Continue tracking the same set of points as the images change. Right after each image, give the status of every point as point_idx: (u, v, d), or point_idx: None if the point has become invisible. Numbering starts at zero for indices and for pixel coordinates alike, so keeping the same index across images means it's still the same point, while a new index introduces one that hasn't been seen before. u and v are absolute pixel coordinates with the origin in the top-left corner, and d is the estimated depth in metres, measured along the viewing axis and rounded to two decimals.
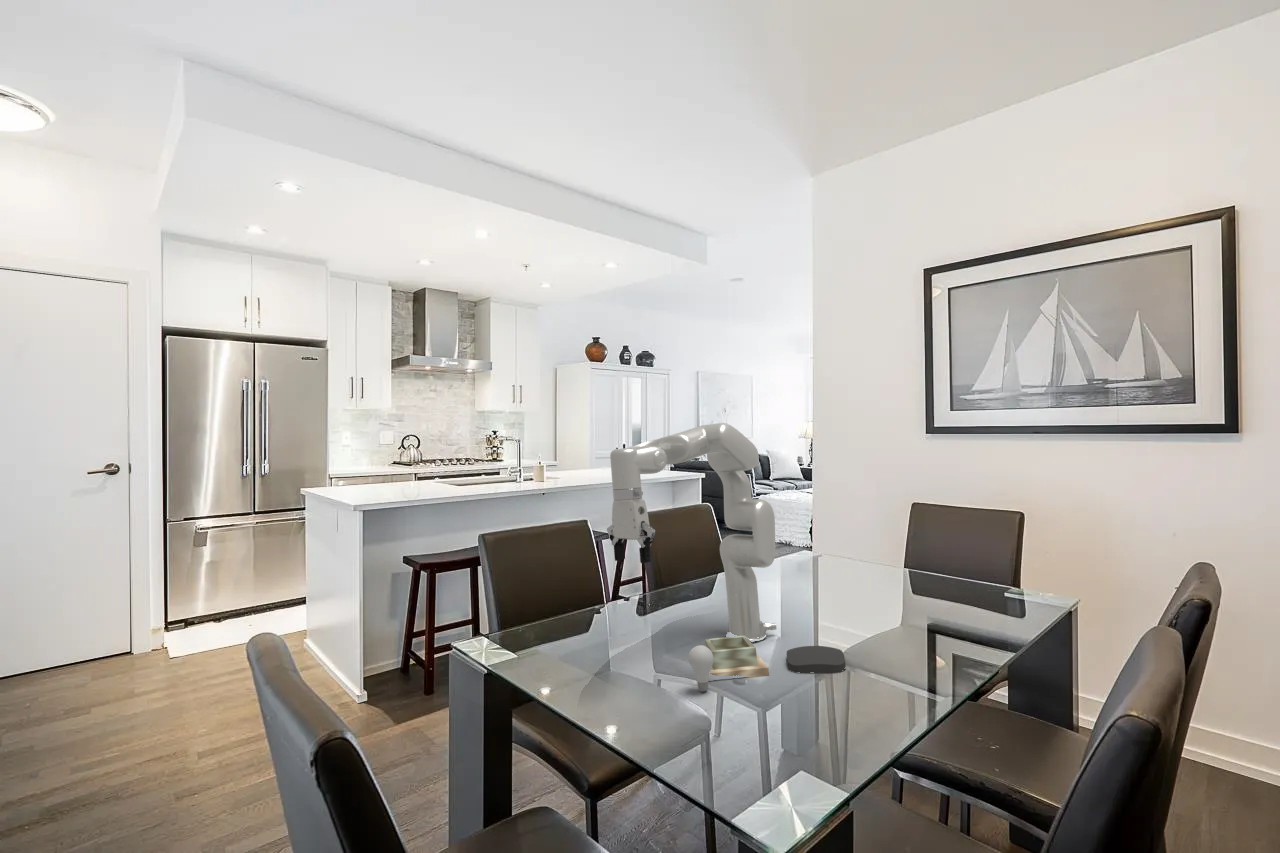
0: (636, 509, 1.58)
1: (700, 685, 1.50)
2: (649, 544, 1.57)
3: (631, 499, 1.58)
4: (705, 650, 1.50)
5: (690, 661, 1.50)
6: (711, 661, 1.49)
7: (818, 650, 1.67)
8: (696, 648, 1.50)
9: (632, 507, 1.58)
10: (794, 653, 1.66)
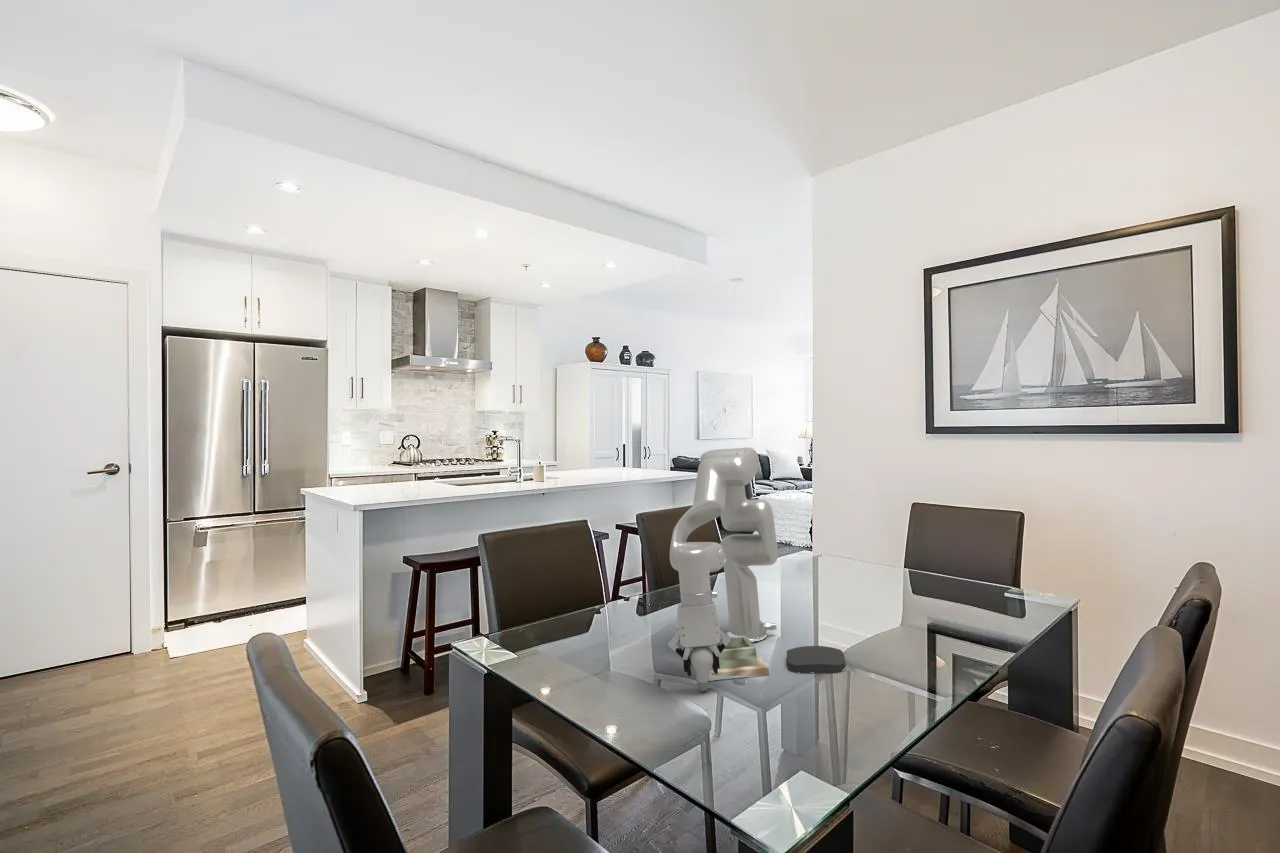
0: (716, 612, 1.51)
1: (700, 685, 1.50)
2: None
3: (710, 602, 1.50)
4: (705, 650, 1.50)
5: (690, 661, 1.50)
6: (711, 661, 1.49)
7: (818, 650, 1.67)
8: (696, 648, 1.50)
9: (713, 611, 1.50)
10: (794, 653, 1.66)
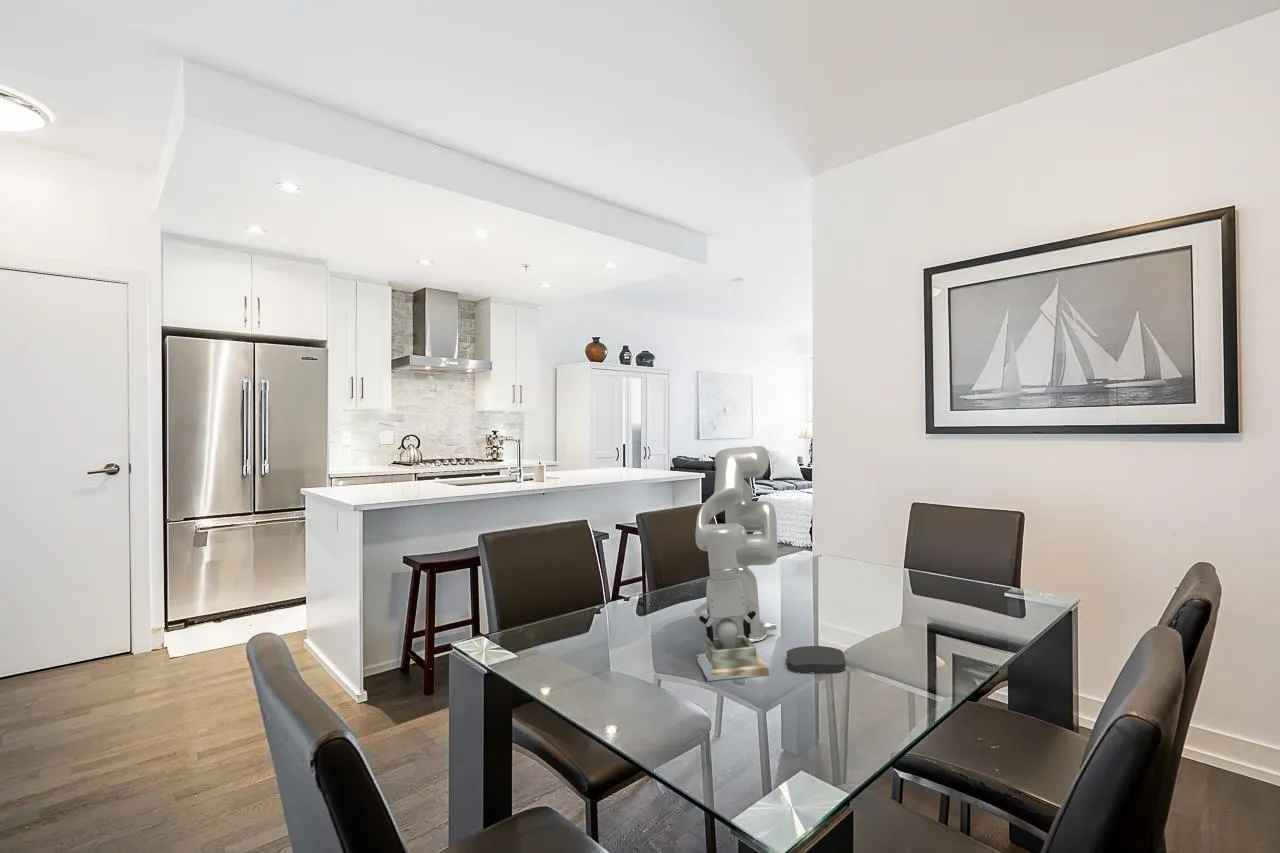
0: (742, 586, 1.65)
1: None
2: None
3: (737, 577, 1.65)
4: (731, 622, 1.65)
5: (717, 632, 1.65)
6: (737, 632, 1.64)
7: (818, 650, 1.67)
8: (722, 621, 1.65)
9: (740, 585, 1.65)
10: (794, 653, 1.66)
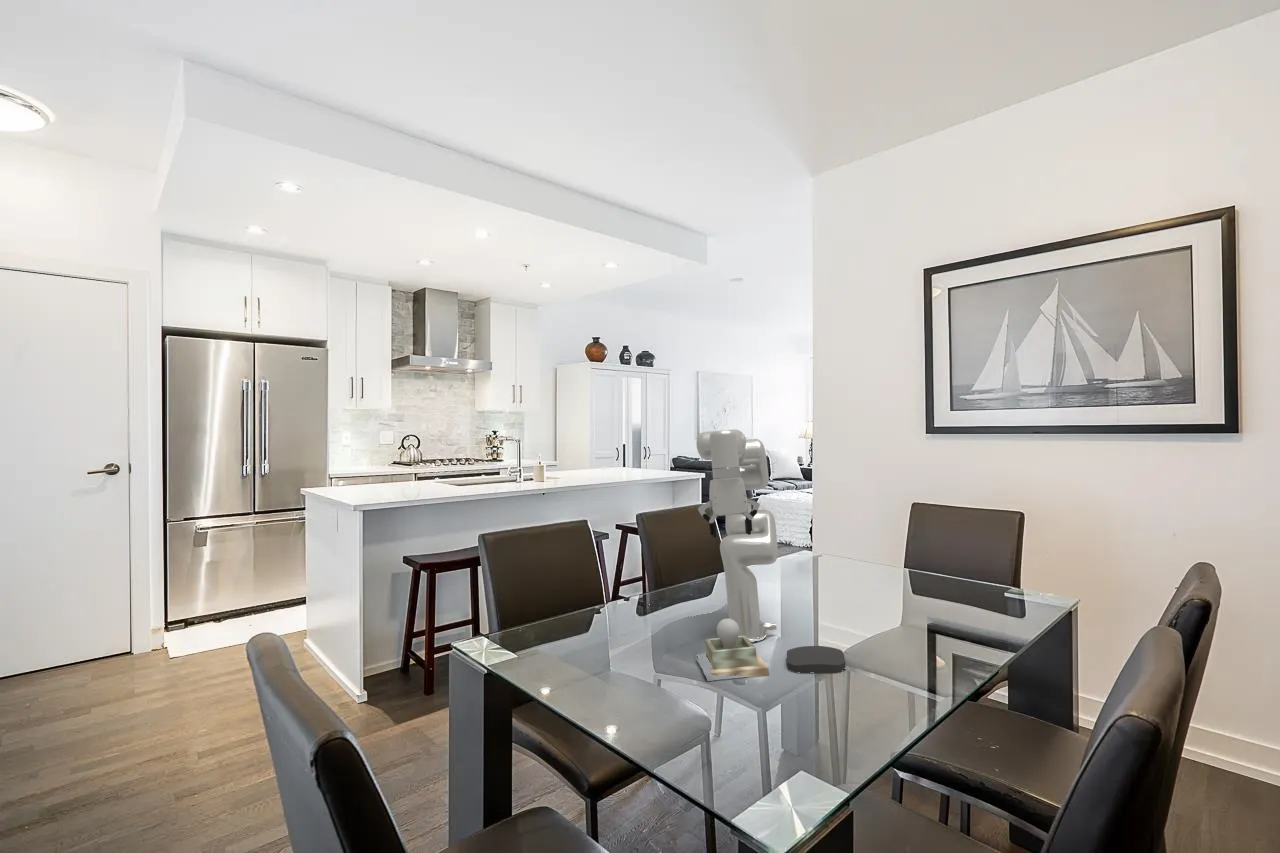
0: (744, 485, 1.72)
1: None
2: None
3: (739, 476, 1.72)
4: (732, 622, 1.65)
5: (718, 632, 1.65)
6: (737, 632, 1.64)
7: (818, 650, 1.67)
8: (724, 620, 1.65)
9: (742, 483, 1.71)
10: (794, 653, 1.66)
